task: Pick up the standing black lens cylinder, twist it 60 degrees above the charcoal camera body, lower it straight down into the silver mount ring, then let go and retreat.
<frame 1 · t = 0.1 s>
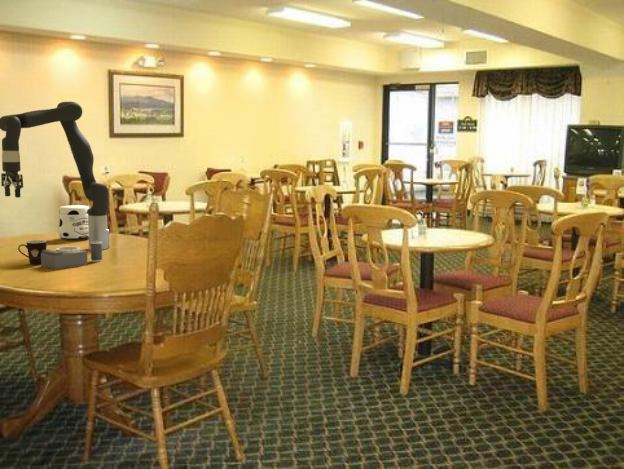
hand: (12, 196, 321), 29 cm above the table, fingers open, 8 cm apart
lens: (96, 261, 328), on the table
camera body: (64, 265, 316), on the table
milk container: (75, 239, 390), on the table
coffee mug: (34, 263, 319), on the table
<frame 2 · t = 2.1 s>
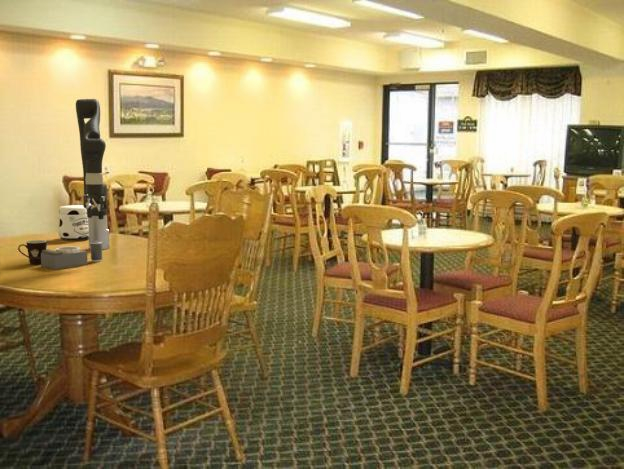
hand: (95, 218, 325), 20 cm above the table, fingers open, 8 cm apart
nothing on the table moved.
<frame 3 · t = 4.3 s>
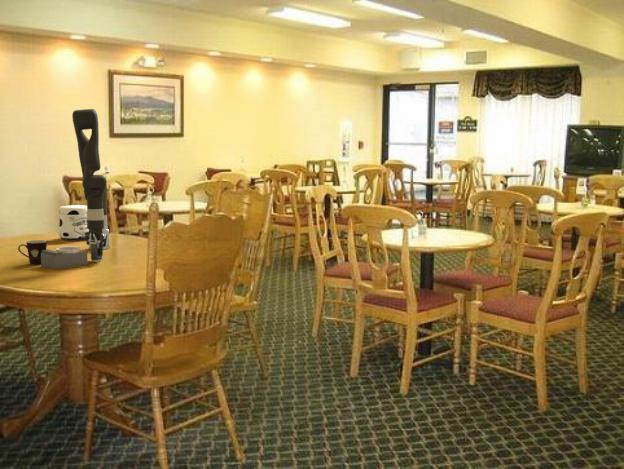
hand: (96, 255, 327), 3 cm above the table, fingers closed on lens, 5 cm apart
lens: (96, 261, 328), on the table, touching gripper
everything else where it was.
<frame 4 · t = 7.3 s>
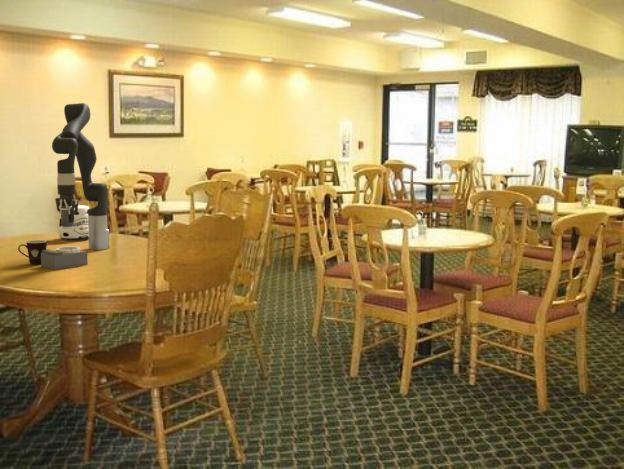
hand: (67, 221, 314), 19 cm above the table, fingers closed on lens, 5 cm apart
lens: (67, 228, 315), point 17 cm above the table, touching gripper
everything else where it was.
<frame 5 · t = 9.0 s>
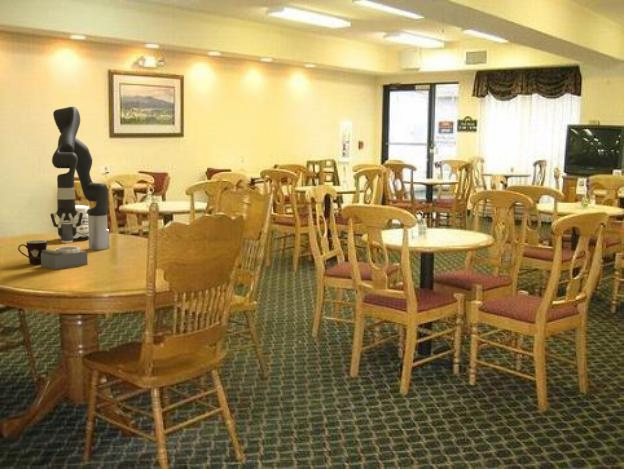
hand: (67, 235, 315), 13 cm above the table, fingers closed on lens, 5 cm apart
lens: (67, 242, 316), point 10 cm above the table, touching gripper
everything else where it was.
when the fingers open (9 cm above the table, at t = 10.3 s): lens stays where it is, resting on camera body.
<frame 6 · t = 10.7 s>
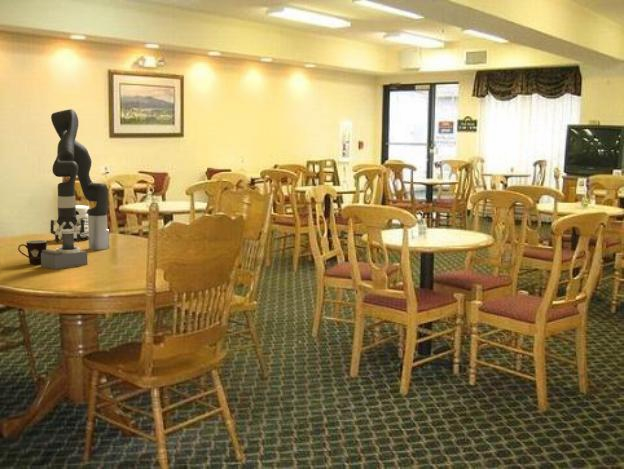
hand: (67, 242, 316), 10 cm above the table, fingers open, 8 cm apart
lens: (68, 251, 316), point 6 cm above the table, touching camera body
everything else where it was.
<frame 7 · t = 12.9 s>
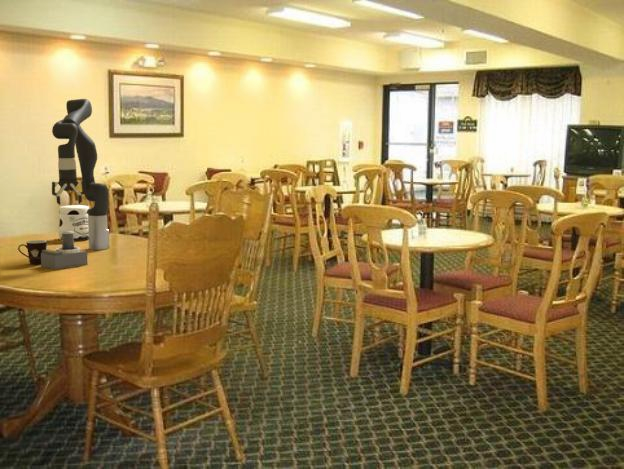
hand: (69, 204, 320), 26 cm above the table, fingers open, 8 cm apart
nothing on the table moved.
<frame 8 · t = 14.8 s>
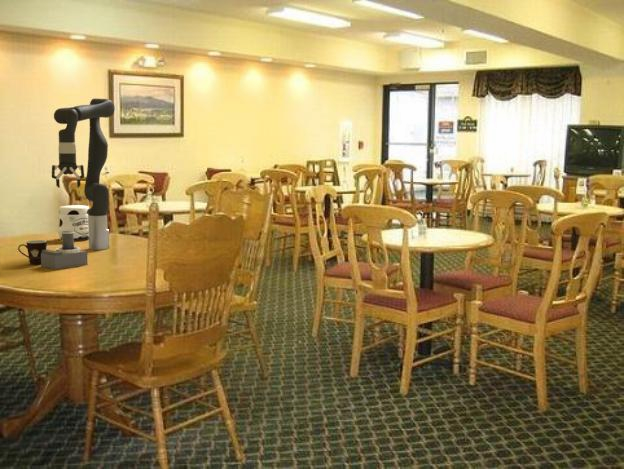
hand: (68, 187, 330), 33 cm above the table, fingers open, 8 cm apart
nothing on the table moved.
at the end: lens 0.1 cm from the target spot on the camera body, point 6.0 cm above the camera body's base; lens tilted 0°; the gripper is holding nothing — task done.
